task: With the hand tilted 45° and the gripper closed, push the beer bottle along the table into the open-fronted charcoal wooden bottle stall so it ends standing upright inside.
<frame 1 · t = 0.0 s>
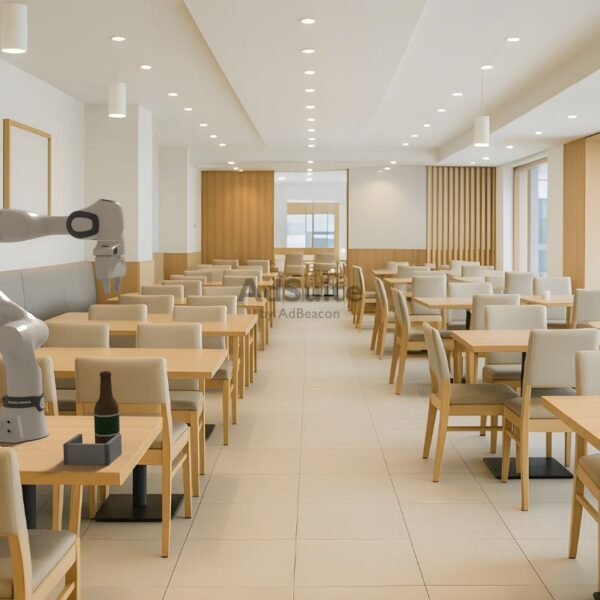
hand: (112, 292, 259), 48 cm above the table, tool pointing down, fingers open, 8 cm apart
bottle stall: (93, 458, 237), on the table
beer bottle: (107, 448, 250), on the table
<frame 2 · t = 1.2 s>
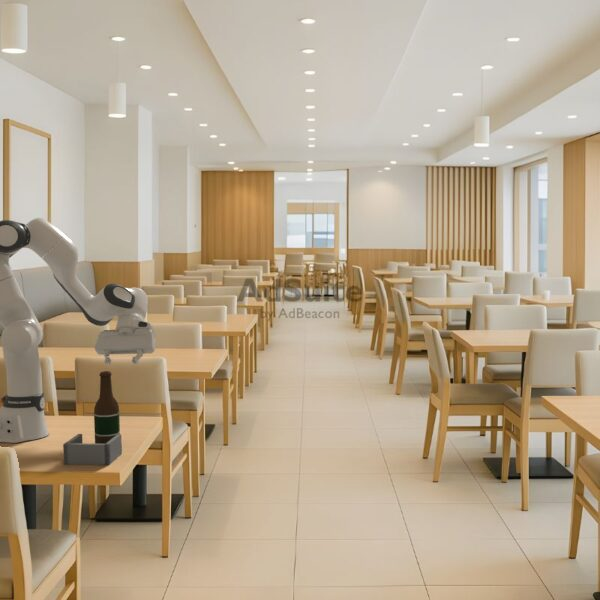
hand: (120, 363, 263), 24 cm above the table, tool tilted 45°, fingers open, 8 cm apart
nothing on the table moved.
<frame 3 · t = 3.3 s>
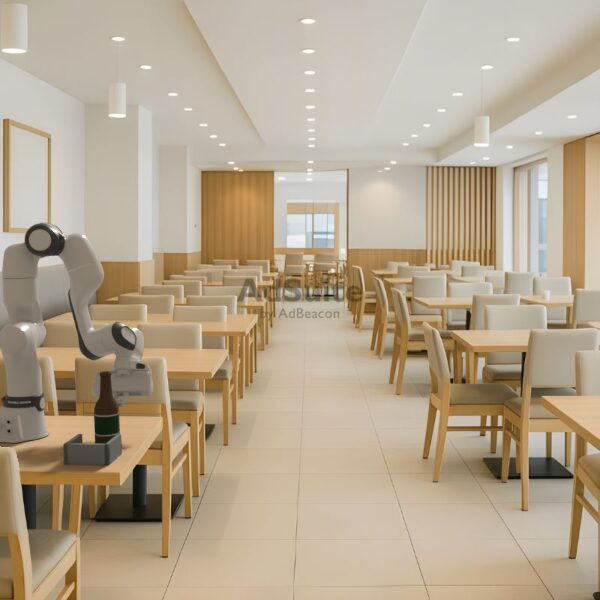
hand: (118, 405, 260), 11 cm above the table, tool tilted 45°, fingers closed
nothing on the table moved.
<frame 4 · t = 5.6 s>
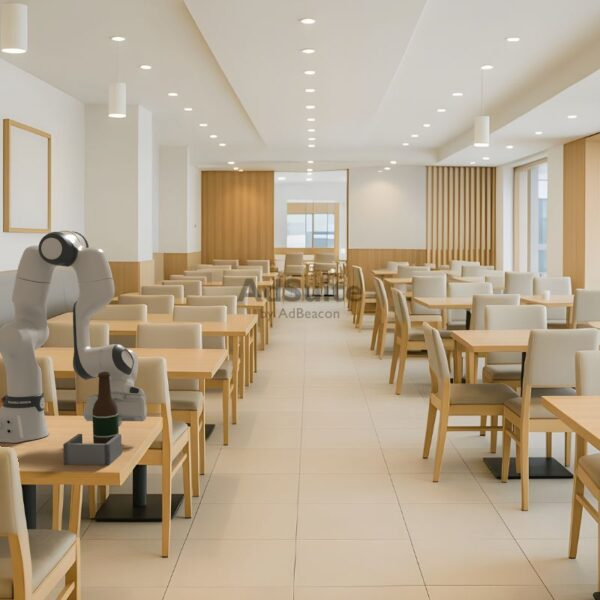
hand: (110, 431, 253), 4 cm above the table, tool tilted 45°, fingers closed, pressing on beer bottle
beer bottle: (106, 449, 249), on the table, touching gripper
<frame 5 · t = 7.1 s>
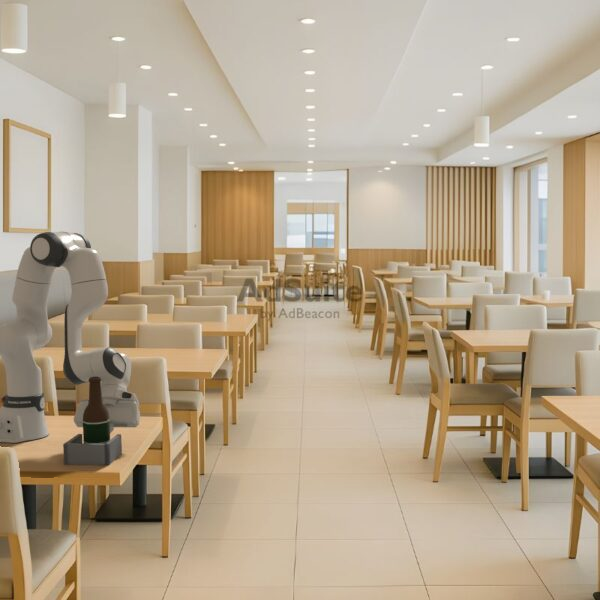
hand: (102, 438, 244), 4 cm above the table, tool tilted 45°, fingers closed, pressing on beer bottle
beer bottle: (97, 456, 240), resting in bottle stall, touching gripper
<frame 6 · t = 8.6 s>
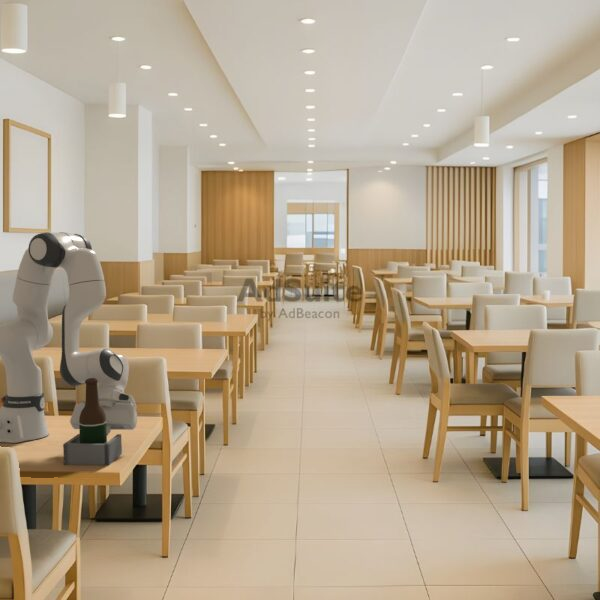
hand: (99, 440, 242), 4 cm above the table, tool tilted 45°, fingers closed
beer bottle: (93, 458, 238), resting in bottle stall
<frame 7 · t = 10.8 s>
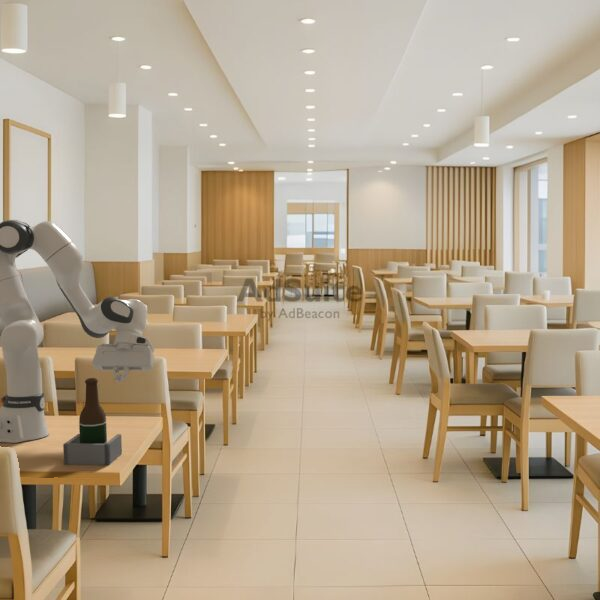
hand: (118, 380, 259), 19 cm above the table, tool tilted 40°, fingers closed
nothing on the table moved.
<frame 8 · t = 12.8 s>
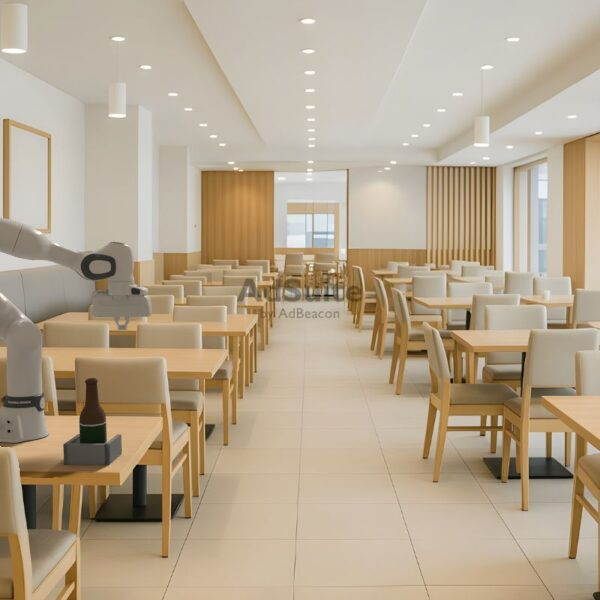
hand: (122, 330, 272), 34 cm above the table, tool pointing down, fingers closed
nothing on the table moved.
at the end: beer bottle 1.1 cm off-centre on the bottle stall, point 0.0 cm above the bottle stall's base; beer bottle tilted 0°; beer bottle moved 12.2 cm from its start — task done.
